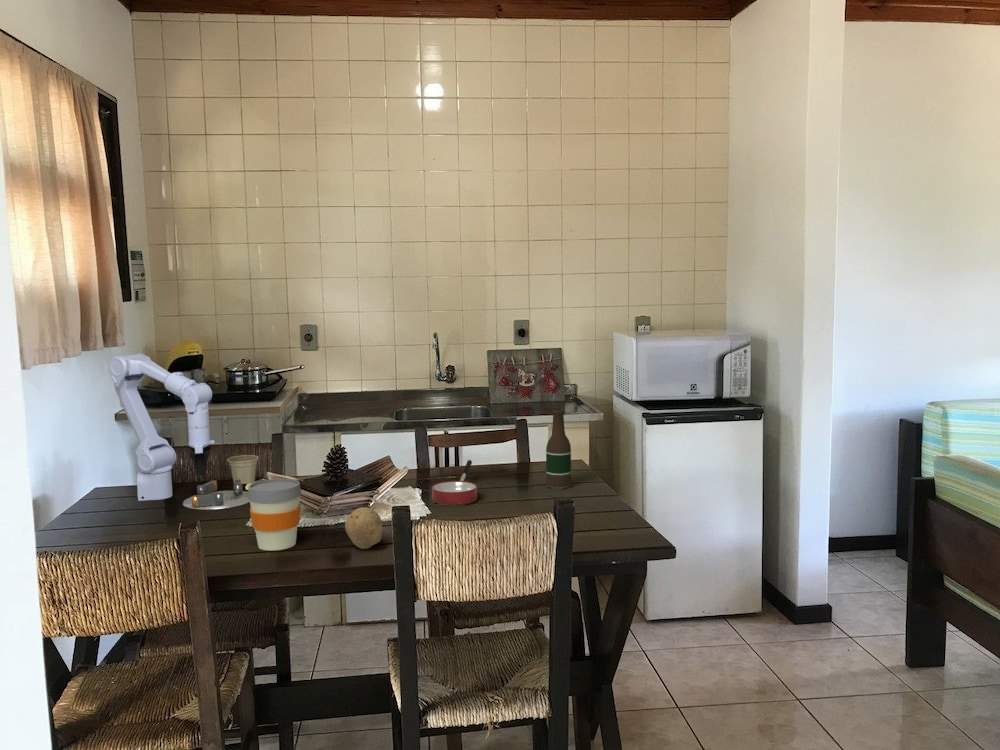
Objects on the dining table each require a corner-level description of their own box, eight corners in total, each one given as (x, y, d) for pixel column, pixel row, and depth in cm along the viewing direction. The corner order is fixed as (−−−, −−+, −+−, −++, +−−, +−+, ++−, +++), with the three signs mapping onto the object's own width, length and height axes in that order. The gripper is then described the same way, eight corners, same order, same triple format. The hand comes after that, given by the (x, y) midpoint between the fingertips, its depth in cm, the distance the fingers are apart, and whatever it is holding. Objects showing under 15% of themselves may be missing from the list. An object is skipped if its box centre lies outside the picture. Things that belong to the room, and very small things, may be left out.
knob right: (242, 494, 245) (242, 484, 244) (234, 495, 244) (233, 485, 244) (242, 488, 253) (241, 478, 252) (234, 488, 252) (233, 479, 252)
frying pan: (441, 479, 267) (441, 459, 266) (482, 479, 266) (482, 459, 265) (429, 507, 235) (428, 485, 234) (475, 507, 234) (475, 485, 234)
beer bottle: (554, 482, 261) (554, 406, 258) (576, 485, 256) (575, 408, 253) (541, 487, 254) (540, 409, 251) (563, 491, 250) (562, 412, 247)
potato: (349, 542, 205) (348, 502, 204) (385, 541, 205) (384, 502, 204) (343, 554, 196) (341, 513, 194) (381, 553, 196) (379, 512, 195)
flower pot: (254, 488, 258) (253, 461, 256) (224, 489, 258) (222, 461, 257) (263, 481, 267) (262, 454, 266) (234, 481, 267) (233, 455, 266)
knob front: (223, 502, 237) (223, 492, 237) (223, 504, 235) (223, 494, 234) (192, 505, 234) (191, 494, 234) (191, 507, 232) (191, 497, 232)
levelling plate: (180, 516, 229) (180, 507, 229) (185, 498, 248) (184, 490, 247) (256, 509, 235) (256, 501, 234) (255, 491, 254) (254, 484, 253)
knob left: (203, 497, 243) (202, 487, 243) (195, 496, 243) (195, 486, 243) (218, 489, 251) (218, 480, 251) (211, 489, 252) (211, 479, 251)
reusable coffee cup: (299, 551, 198) (296, 490, 196) (245, 554, 197) (241, 492, 195) (306, 535, 210) (304, 477, 209) (256, 537, 210) (253, 479, 208)
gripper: (213, 429, 231) (215, 477, 233) (214, 421, 245) (216, 466, 247) (185, 431, 229) (188, 479, 231) (188, 422, 243) (191, 468, 245)
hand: (201, 473), depth 239 cm, fingers open, 5 cm apart
